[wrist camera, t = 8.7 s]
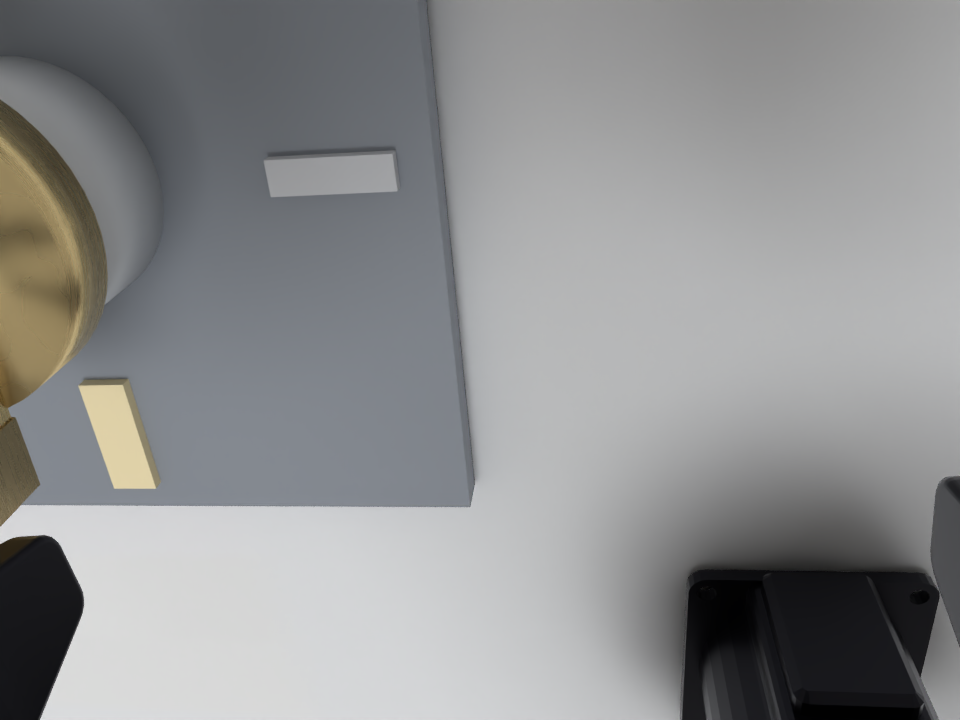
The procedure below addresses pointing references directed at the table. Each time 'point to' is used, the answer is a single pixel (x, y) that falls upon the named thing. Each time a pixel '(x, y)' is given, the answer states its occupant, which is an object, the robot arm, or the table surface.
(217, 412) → the post base
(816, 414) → the table surface
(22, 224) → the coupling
